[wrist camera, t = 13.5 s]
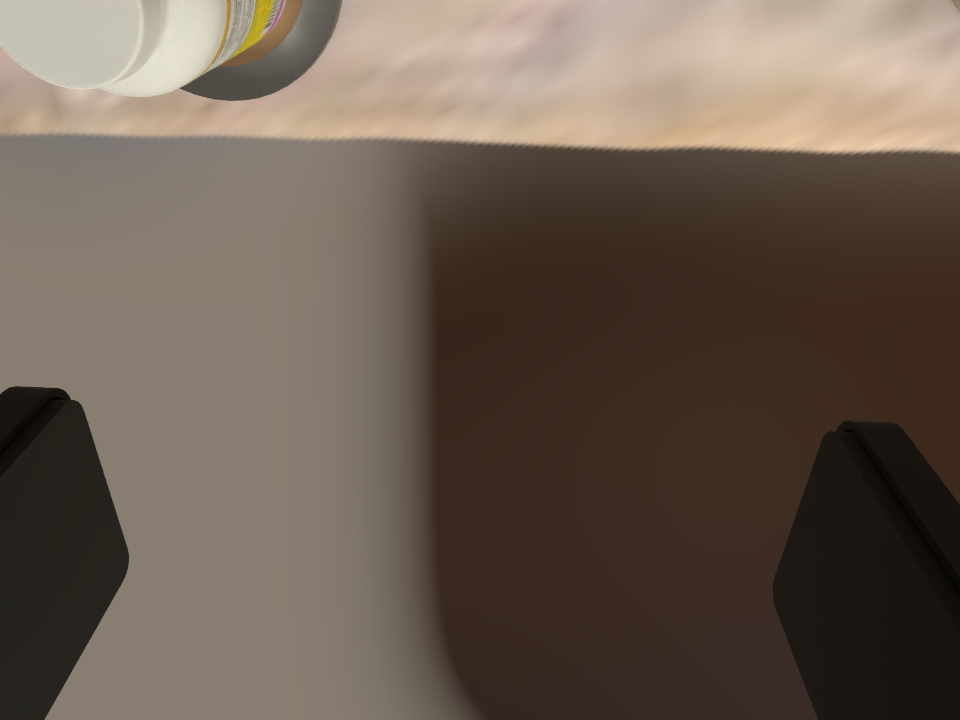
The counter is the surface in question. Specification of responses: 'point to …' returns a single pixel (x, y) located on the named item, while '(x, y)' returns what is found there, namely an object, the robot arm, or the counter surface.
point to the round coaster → (273, 54)
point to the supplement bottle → (130, 40)
